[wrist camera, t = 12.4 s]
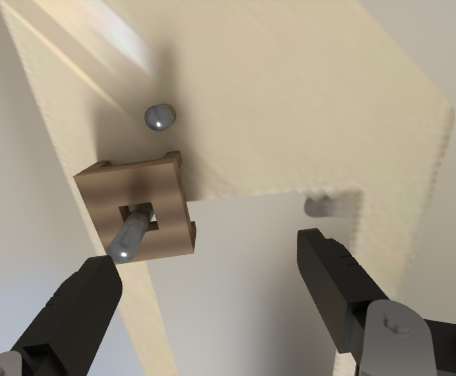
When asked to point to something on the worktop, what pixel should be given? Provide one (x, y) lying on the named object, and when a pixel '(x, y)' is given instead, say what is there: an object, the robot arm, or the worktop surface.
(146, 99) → the worktop surface
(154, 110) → the short pin
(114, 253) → the long pin
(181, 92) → the worktop surface
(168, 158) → the wooden square-hole block
